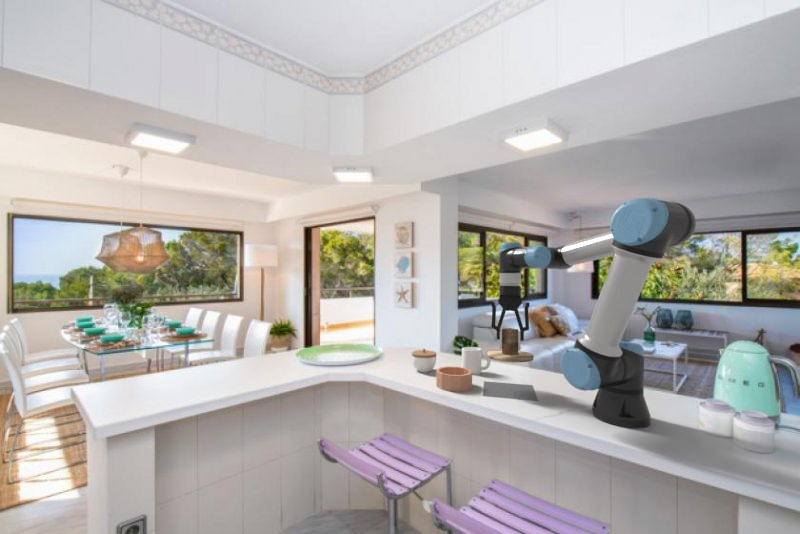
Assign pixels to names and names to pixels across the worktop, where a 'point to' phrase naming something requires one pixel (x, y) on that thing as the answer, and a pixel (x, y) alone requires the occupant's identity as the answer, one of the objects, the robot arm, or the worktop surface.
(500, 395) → the mat
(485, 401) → the worktop surface
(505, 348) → the cover
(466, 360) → the mug
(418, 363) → the lidded jar
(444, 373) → the bowl
